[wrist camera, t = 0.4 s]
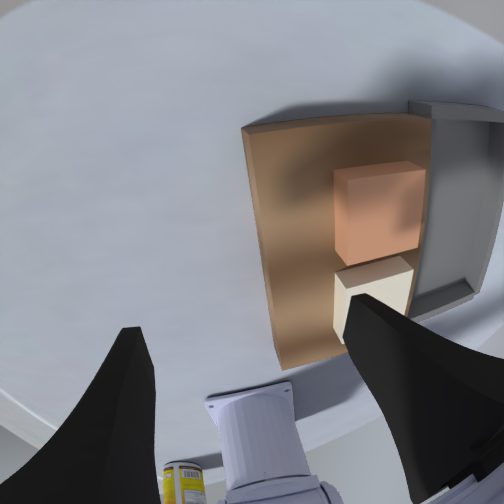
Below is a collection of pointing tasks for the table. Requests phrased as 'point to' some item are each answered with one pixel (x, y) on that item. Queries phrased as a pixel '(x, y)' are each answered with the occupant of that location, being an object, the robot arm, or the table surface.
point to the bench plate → (318, 215)
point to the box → (458, 204)
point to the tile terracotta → (377, 210)
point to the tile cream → (372, 287)
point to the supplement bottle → (183, 484)
